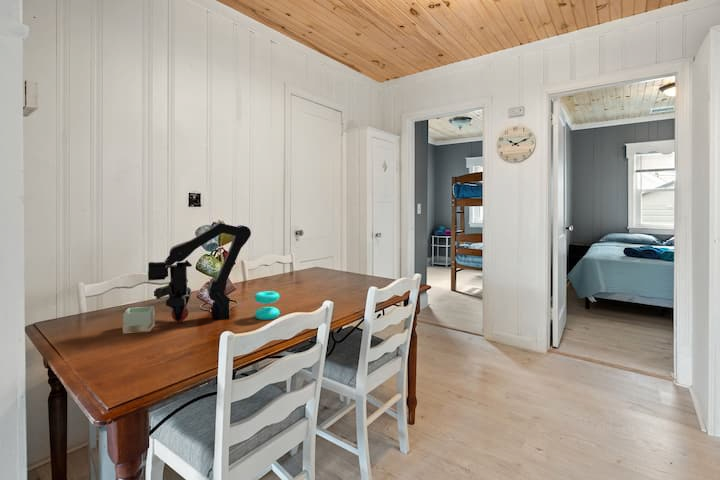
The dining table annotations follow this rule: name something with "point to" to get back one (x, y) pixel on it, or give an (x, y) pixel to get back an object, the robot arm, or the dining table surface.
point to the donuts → (267, 312)
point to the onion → (184, 315)
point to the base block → (138, 328)
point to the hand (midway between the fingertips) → (179, 317)
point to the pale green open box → (138, 316)
